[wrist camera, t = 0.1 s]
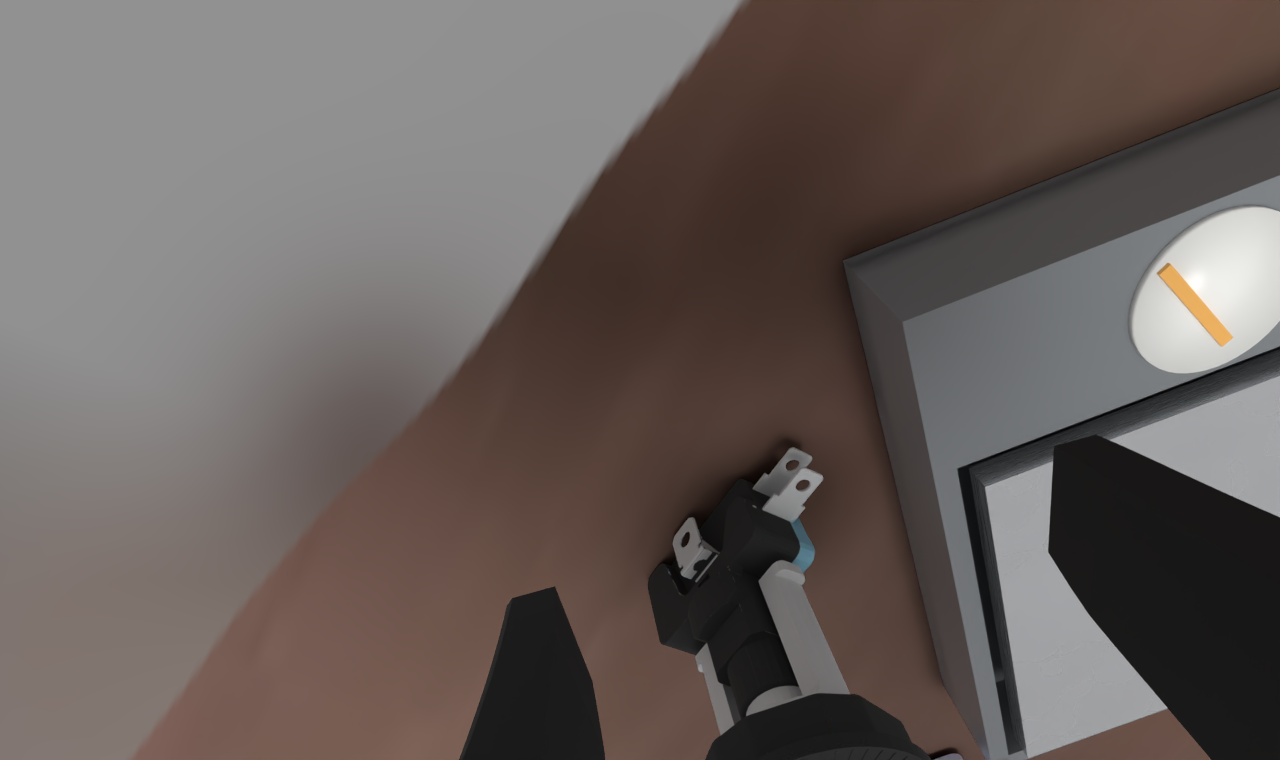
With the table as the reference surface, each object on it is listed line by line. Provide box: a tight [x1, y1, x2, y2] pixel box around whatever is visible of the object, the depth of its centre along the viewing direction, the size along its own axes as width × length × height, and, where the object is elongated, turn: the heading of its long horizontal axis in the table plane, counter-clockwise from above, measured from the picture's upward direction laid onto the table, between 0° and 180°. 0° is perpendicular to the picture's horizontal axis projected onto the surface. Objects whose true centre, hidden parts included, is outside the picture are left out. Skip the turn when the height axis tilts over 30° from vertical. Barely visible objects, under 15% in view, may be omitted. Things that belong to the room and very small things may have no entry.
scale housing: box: [843, 88, 1280, 760], centre depth 23 cm, size 18×14×4 cm
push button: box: [648, 447, 931, 760], centre depth 20 cm, size 7×5×10 cm
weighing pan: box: [969, 350, 1280, 758], centre depth 23 cm, size 12×12×1 cm
